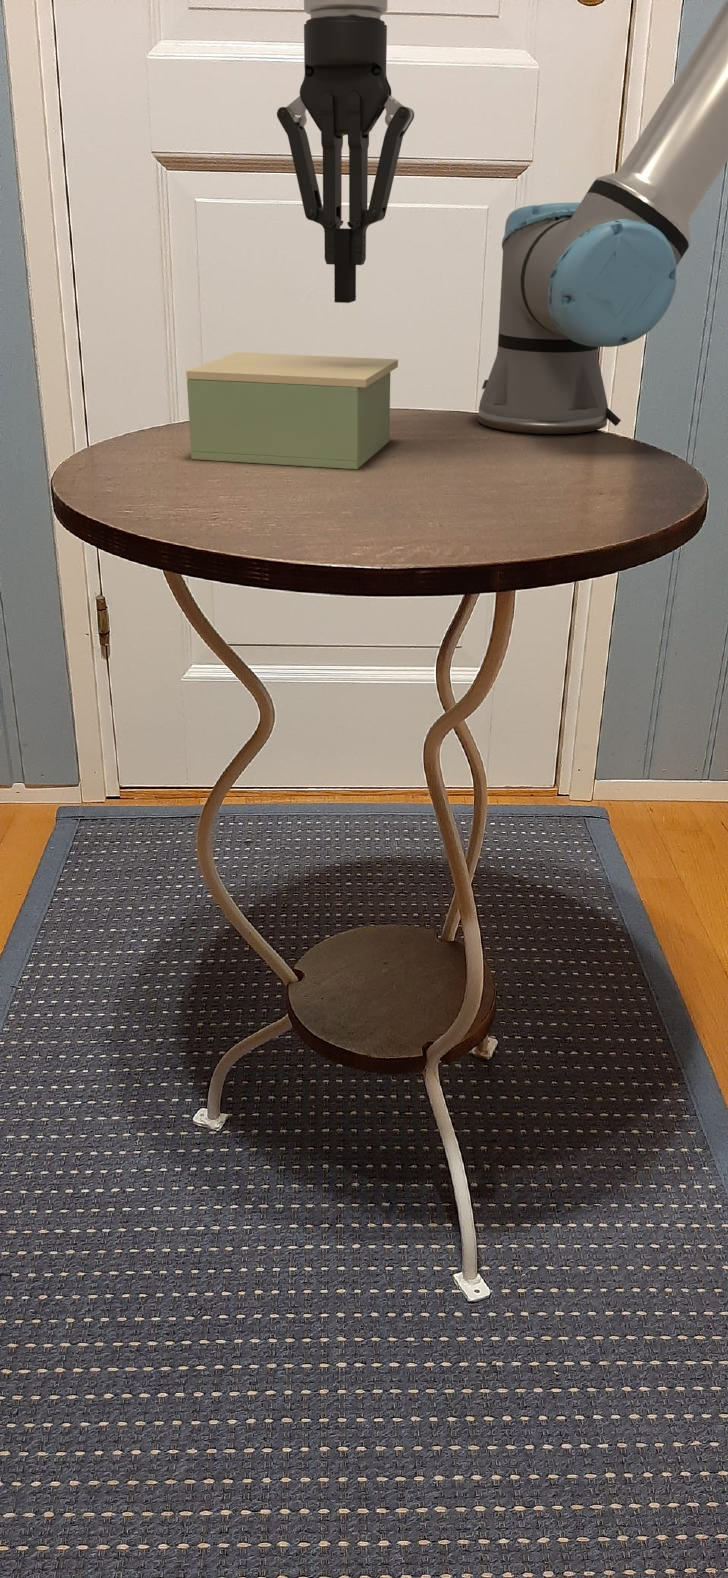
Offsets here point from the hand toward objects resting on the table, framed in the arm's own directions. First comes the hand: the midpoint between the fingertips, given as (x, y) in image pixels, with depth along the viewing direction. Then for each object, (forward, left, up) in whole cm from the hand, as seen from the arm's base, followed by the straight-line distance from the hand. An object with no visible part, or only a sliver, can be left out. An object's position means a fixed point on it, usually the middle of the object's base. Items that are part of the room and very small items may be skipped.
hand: (345, 301), depth 114 cm
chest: (+6, 0, -15) cm, 16 cm away
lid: (+5, 0, -7) cm, 9 cm away
